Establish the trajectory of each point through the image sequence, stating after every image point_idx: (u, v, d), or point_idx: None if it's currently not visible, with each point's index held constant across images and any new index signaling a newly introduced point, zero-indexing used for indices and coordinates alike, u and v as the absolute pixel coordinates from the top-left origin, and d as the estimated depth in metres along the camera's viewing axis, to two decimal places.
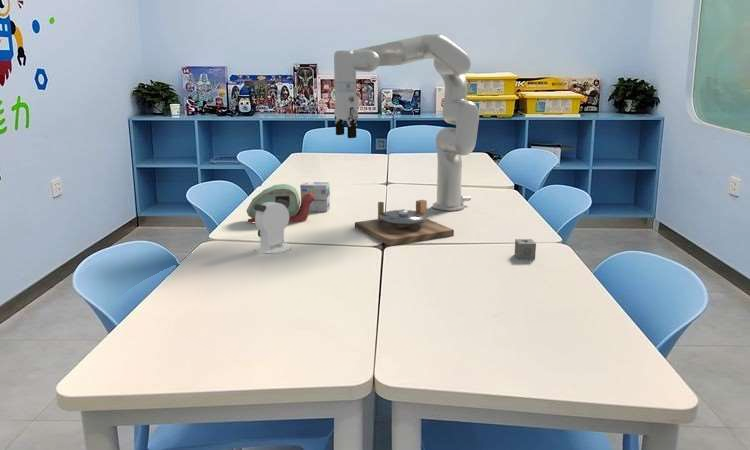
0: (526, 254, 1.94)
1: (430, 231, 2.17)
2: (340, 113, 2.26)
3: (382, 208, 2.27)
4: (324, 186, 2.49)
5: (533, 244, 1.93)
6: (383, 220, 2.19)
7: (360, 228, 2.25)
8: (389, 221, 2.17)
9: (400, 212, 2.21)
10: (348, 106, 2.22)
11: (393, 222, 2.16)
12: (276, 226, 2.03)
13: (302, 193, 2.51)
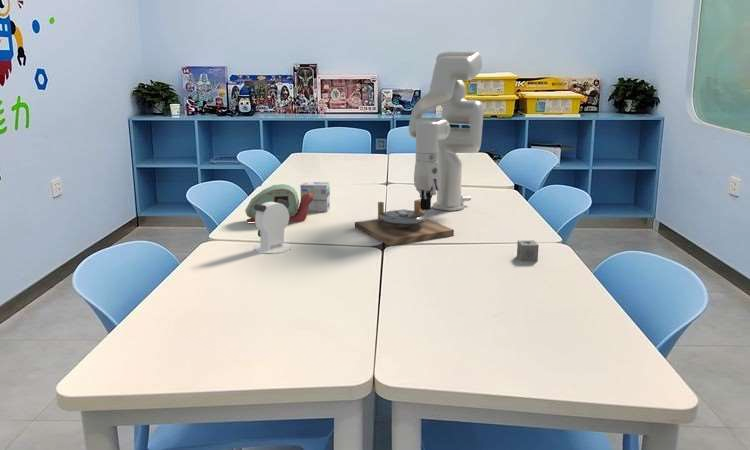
0: (529, 256, 1.92)
1: (430, 231, 2.17)
2: (421, 183, 2.22)
3: (382, 208, 2.27)
4: (324, 186, 2.49)
5: (536, 245, 1.92)
6: (384, 220, 2.19)
7: (360, 228, 2.25)
8: (391, 221, 2.17)
9: (400, 212, 2.21)
10: (431, 177, 2.18)
11: (395, 222, 2.16)
12: (276, 226, 2.03)
13: (302, 193, 2.51)
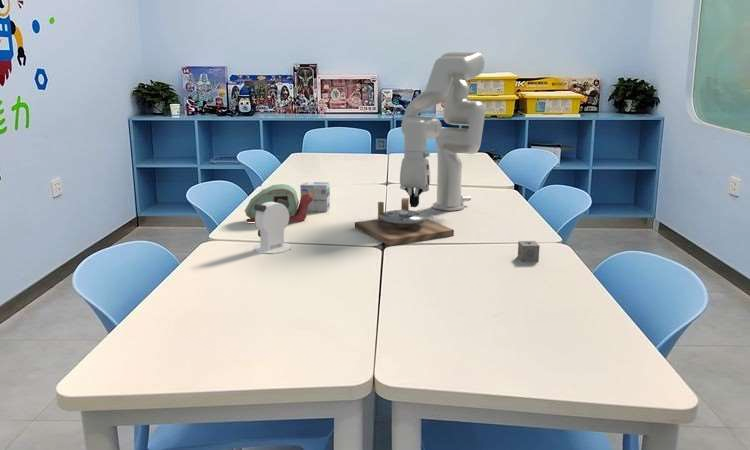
0: (529, 256, 1.92)
1: (430, 231, 2.17)
2: (413, 181, 2.25)
3: (382, 208, 2.27)
4: (324, 186, 2.49)
5: (537, 246, 1.91)
6: (396, 223, 2.16)
7: (360, 228, 2.25)
8: (405, 222, 2.15)
9: (403, 212, 2.21)
10: (426, 174, 2.24)
11: (410, 222, 2.15)
12: (276, 226, 2.03)
13: (302, 193, 2.51)
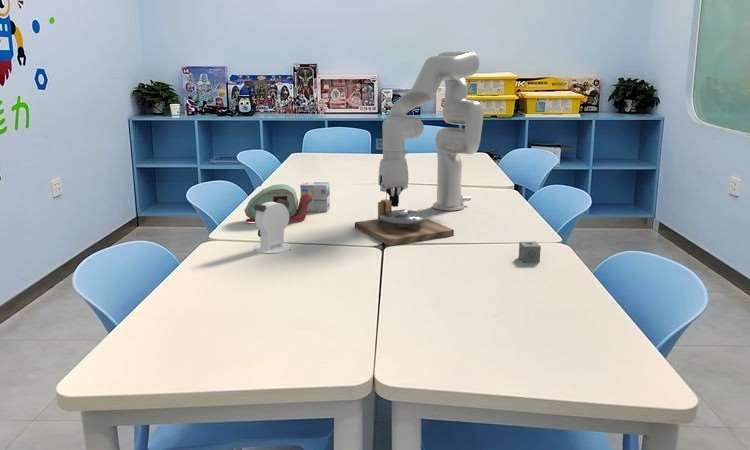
0: (531, 257, 1.91)
1: (430, 231, 2.17)
2: (398, 181, 2.27)
3: (382, 208, 2.27)
4: (324, 186, 2.49)
5: (538, 247, 1.91)
6: (415, 222, 2.16)
7: (360, 228, 2.25)
8: (421, 220, 2.18)
9: (406, 212, 2.21)
10: None
11: (424, 220, 2.19)
12: (276, 226, 2.03)
13: (302, 193, 2.51)
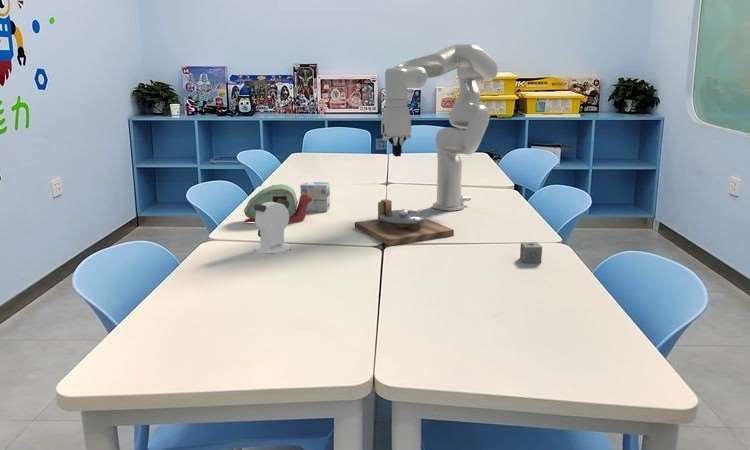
0: (532, 258, 1.91)
1: (430, 231, 2.17)
2: (401, 130, 2.28)
3: (382, 208, 2.27)
4: (324, 186, 2.49)
5: (539, 247, 1.90)
6: (415, 222, 2.16)
7: (360, 228, 2.25)
8: (421, 220, 2.18)
9: (406, 212, 2.21)
10: None
11: (424, 220, 2.19)
12: (276, 226, 2.03)
13: (302, 193, 2.51)
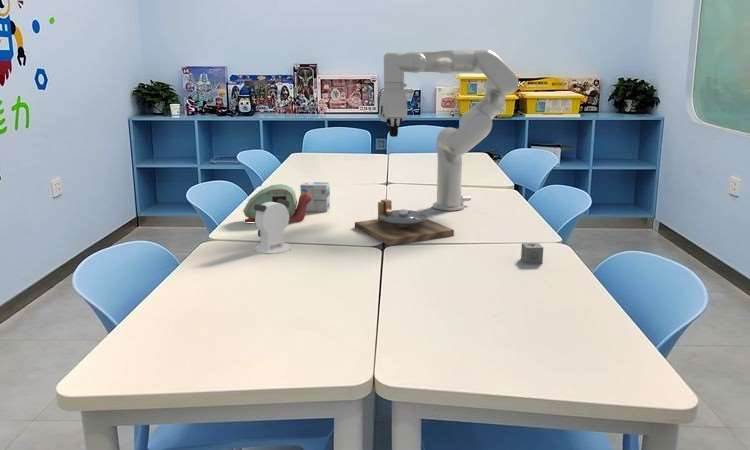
0: (533, 258, 1.90)
1: (430, 231, 2.17)
2: (398, 111, 2.42)
3: (382, 208, 2.27)
4: (324, 186, 2.49)
5: (540, 248, 1.89)
6: (415, 222, 2.16)
7: (360, 228, 2.25)
8: (421, 220, 2.18)
9: (406, 212, 2.21)
10: None
11: (424, 220, 2.19)
12: (276, 226, 2.03)
13: (302, 193, 2.51)
